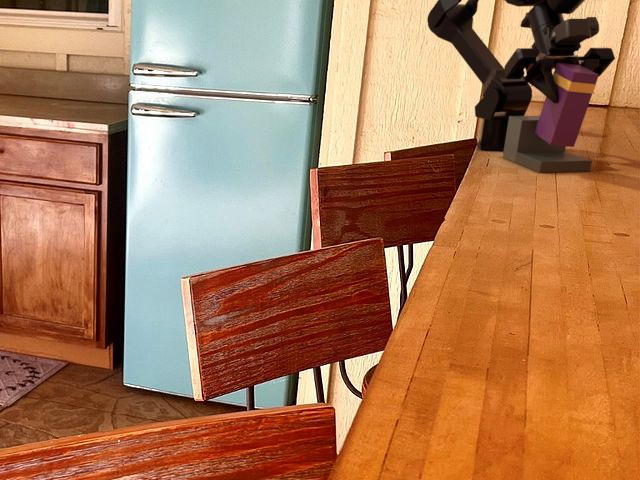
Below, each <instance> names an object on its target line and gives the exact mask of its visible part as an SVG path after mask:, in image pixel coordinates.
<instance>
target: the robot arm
mask: <svg viewBox="0 0 640 480" xmlns="http://www.w3.org/2000/svg"><path fill="white" fill-rule="evenodd" d="M462 1H463V0H437V1H436V3H434V5H433V7H432V8H431V10H430V11H429V12H428V15H427V18H426V19H427V20H426V21H427V26H428V30H429V31H430V32H431V33H432V34H433V35H435V36H436V37H437V38H438V39H441V40H443V41H445V42H448V43H449V44H451V45H452V46H453V47H454V48H455V50H456V51H457V52H458V54H459V55H460V56H461V58H462V59H463V60H464V62H465V63H466V64H467V66H468V67H469V68H470V70H471V71H472V72H473V74H474V75H475V76H476V78H477V79H478V80H479V82H480V83H481V84H482V98H481V99H480V100H479V101H478V103H476V104H475V106H474V115H475V116H474V117H476V118H479V119H481V121H480V129H479V135H478V141H476V143H475V144H476V146H477V147H478V148H479V150H486V151H504V146H505V139H506V133H507V127H508V121H509V116H526V113H527V111H528V108H529V107H530V104H531V101H532V98H533V88H532V87H534V88H535V89H536V90H538V91H539V92H540V93H542V95H543V96H544V97H545V98H546V97H547V98H548V99H550V100H551V101H552V102H553V103H557V102H558V100H559V98H558V92H557V88H556V85H555V81H554V78H553V70H555V68H556V64H557V63H564V64H574V65H581V66H583V67H585V68H587V69H589V70H591V71H593V72H595V73H597V74H599V76H598V78H599V77H601V76H602V74H603V73H604V72H606V70H607V69H608V67H609V66H610V65H611V64H613V62H614V61H615V60H616V57H615V54H614V50H613V49H612V48H611V47H589V49H588V50H587V51H586V53H584V55H582V56H581V55H580V56H579V55H578V54H575V52H578V51H579V50H580V49H581V48H582V45H581V43H583V42H584V41H586V40H589V39H591V38H593V37H595V36H596V35H598V34H599V33H600V23H599V20H598V18H597V17H596V16H587V17H586V18H568V19H565V18H564V15H572V14H573V13H575V11H577V9H578V8H580V7H581V5H582V4H583V3H584V2H585V1H586V0H503V1H505V3H506V4H509V5H511V6H515V7H519V8H520V7H521V8H522V7H532V8H530V10H529V11H528V12H526V13H525V15H524V17H523V19H522V20H521V22H520V25H519V27H520V28H524V29H526V28H527V29H530V30H531V34H532V37H533V41H534V42H533V43H532V45H531V46H530V47H522V48H521V47H519V48H518V47H517V48H516V49H515V50H514V52H513V53H512V54H511V56H510V57H509V59H508V60H507V62H506V63H505V64H504V66H503V65H502V64H501V63H500V61H499V60H498V59H497V57H496V56H495V55H494V54H493V52H491V50H490V49H489V47H488V46H487V45H486V44H485V43H484V40H482V38H481V37H480V36H479V35H478V33H477V32H476V31H475V29H474V28H473V26H474V16H475V15H476V14H477V12H478V6H479V1H480V0H467V1H466V2H465V4H463V3H461V2H462Z"/></svg>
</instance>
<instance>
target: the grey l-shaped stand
mask: <svg viewBox="0 0 640 480" xmlns="http://www.w3.org/2000/svg"><path fill="white" fill-rule="evenodd" d="M539 117H540V115H524V116H509V121H508V127H507V133H506V139H505V146H504V150H503V153H502V158H503V159H506V160H508V161H510V162H513V163H514V164H518V165H520V166H522V167H524V168H527V169H530V170H532V171H534V172H537V173H540V174H541V173H542V174H543V173H544V174H545V173H576V172H577V173H578V172H580V173H581V172H590V171H591V167H592V161H593V160H591V159H589V158H585V157H583V156H580V155H577V154H575V153H572V152H569V151H567V150H566V149H567V146H558V145H550V144H549V143H547V142H546V141H545V140H543V139H542V138H541V137H539V136H538V135H537V134H535V130H536V126H537V123H538V120H539Z"/></svg>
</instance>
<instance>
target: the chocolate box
mask: <svg viewBox="0 0 640 480" xmlns="http://www.w3.org/2000/svg"><path fill="white" fill-rule="evenodd" d="M552 74H553V78H554V81H555V85H556V88H557V92H558V98H559V100H558V102H557V103H553V102H552V101H551V100H550V99H548V98H547V97H546V96H545V99H544V102H543V105H542V109H541V111H540V115H539V116H540V117H539V120H538V123H537V126H536V130H535V134H537V135H538V136H539V137H541V138H542V139H543V140H545V141H546V142H547V143H549V144H550V145H558V146H566V147H569V148H570V147H571V148H574V147H575V145H576V142H577V139H578V136H579V134H580V131H581V127H582V125H583V122H584V119H585V115H586V114H587V110H588V108H589V104H590V102H591V99H592V97H593V94H594V91H595V89H596V87H597V82H598V79H599V77H600V76H599V74H597V73H595V72H593V71H591V70H589V69H587V68H585V67H583V66H581V65H574V64H564V63H557V64H556V68H555V69H554V71H553V72H552ZM598 76H599V77H598Z"/></svg>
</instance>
